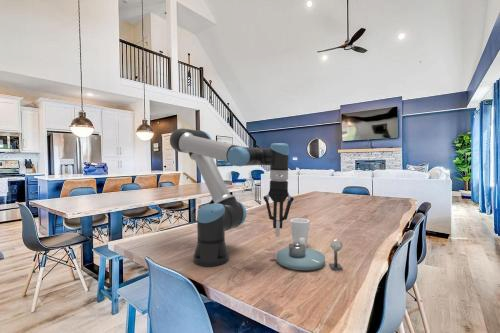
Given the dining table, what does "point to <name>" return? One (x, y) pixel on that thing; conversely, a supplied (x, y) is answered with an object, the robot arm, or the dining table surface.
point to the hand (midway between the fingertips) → (277, 235)
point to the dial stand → (336, 246)
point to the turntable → (301, 259)
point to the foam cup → (299, 229)
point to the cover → (297, 250)
